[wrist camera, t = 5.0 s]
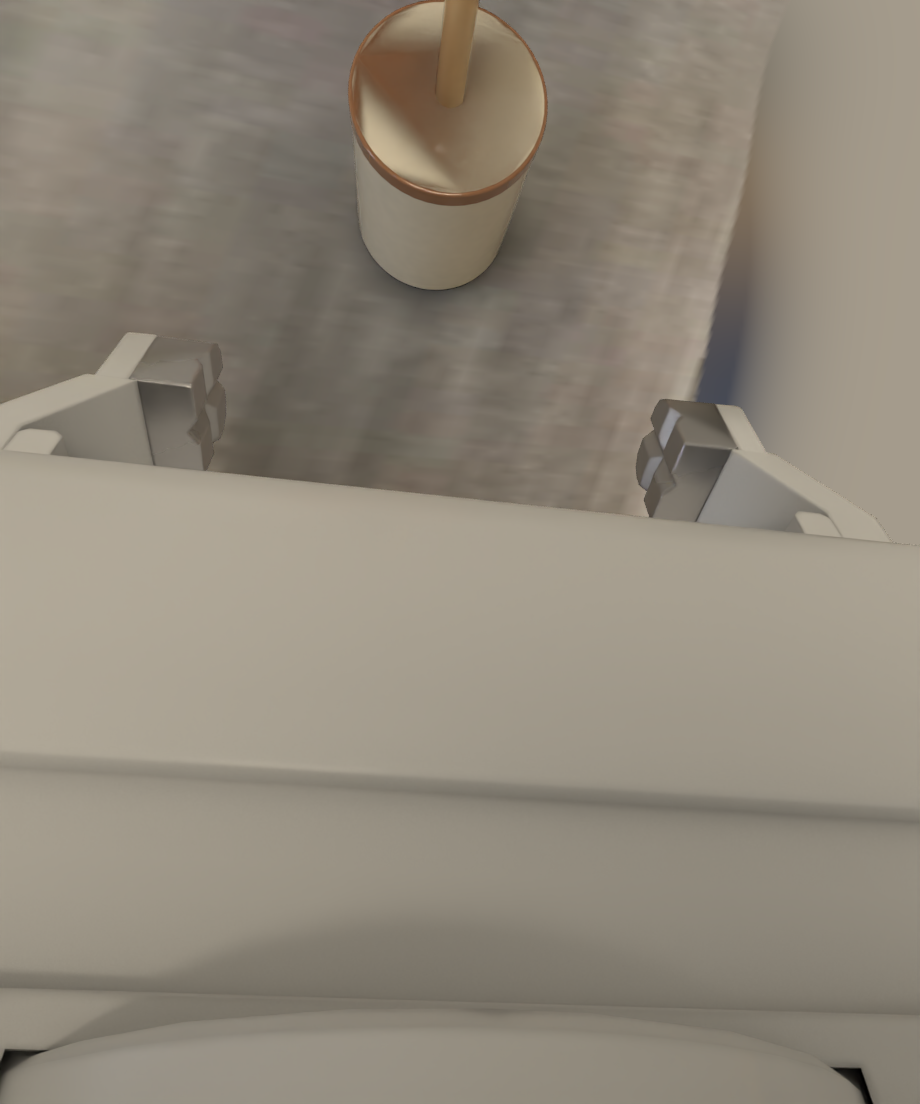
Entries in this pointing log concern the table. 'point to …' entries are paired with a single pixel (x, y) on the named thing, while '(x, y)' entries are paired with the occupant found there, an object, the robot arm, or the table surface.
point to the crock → (442, 138)
